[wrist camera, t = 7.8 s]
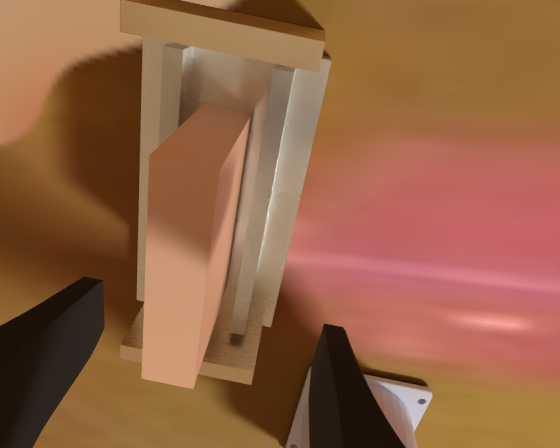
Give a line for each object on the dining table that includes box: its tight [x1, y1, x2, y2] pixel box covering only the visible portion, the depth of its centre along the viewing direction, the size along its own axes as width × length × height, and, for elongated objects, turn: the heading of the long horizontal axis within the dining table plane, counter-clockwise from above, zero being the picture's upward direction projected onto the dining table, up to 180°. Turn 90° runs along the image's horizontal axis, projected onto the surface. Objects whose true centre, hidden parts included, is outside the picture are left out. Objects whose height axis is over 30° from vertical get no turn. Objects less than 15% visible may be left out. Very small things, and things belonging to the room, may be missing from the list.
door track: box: [120, 0, 332, 385], centre depth 21 cm, size 17×8×4 cm, turn 170°
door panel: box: [142, 103, 253, 389], centre depth 19 cm, size 10×2×7 cm, turn 170°
